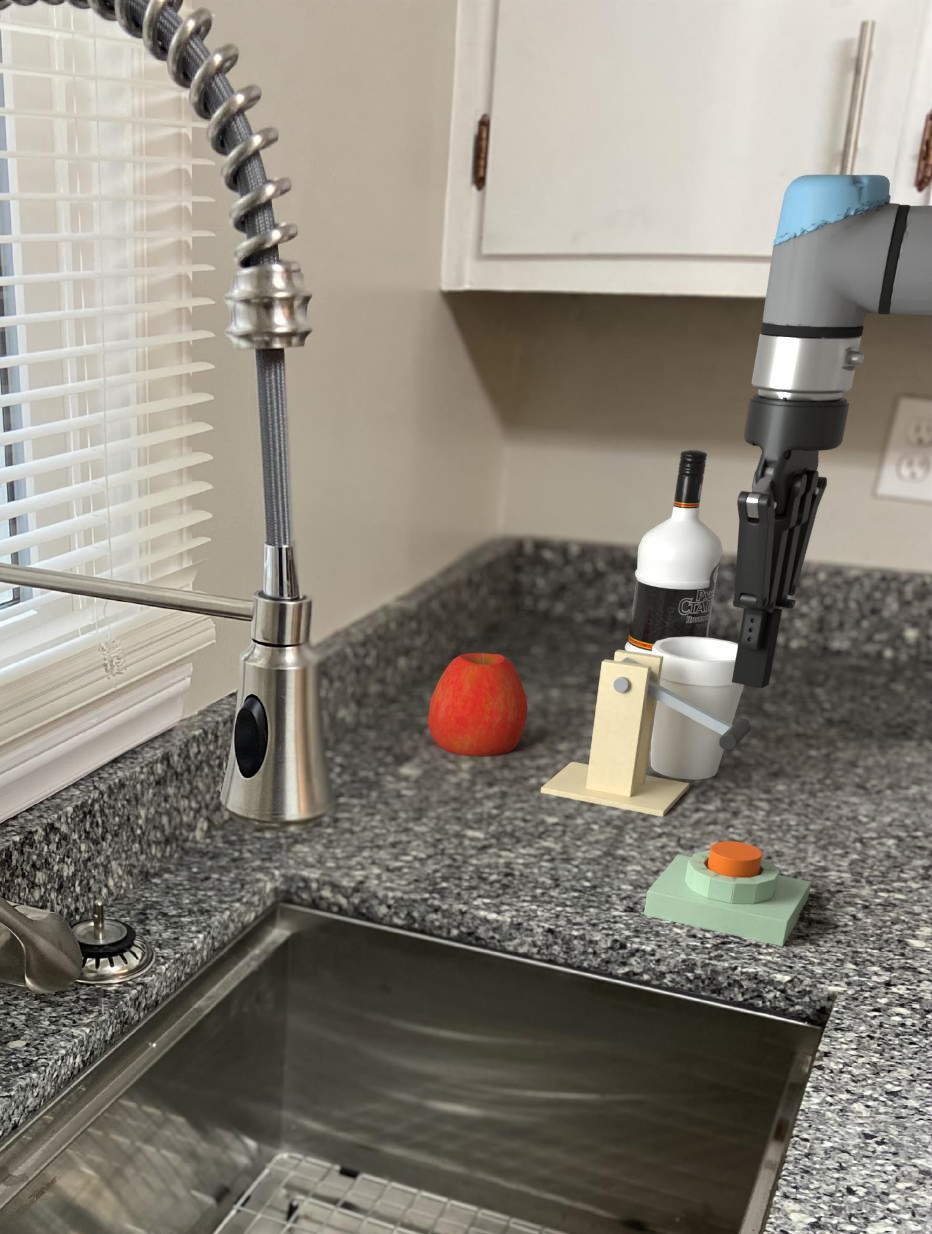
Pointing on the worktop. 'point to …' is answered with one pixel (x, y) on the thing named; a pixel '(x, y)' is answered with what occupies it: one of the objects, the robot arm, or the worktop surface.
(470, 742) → the apple
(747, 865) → the button
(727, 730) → the lever
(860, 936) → the worktop surface
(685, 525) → the vodka
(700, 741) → the foam cup
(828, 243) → the robot arm
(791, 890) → the control block
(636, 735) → the bracket
